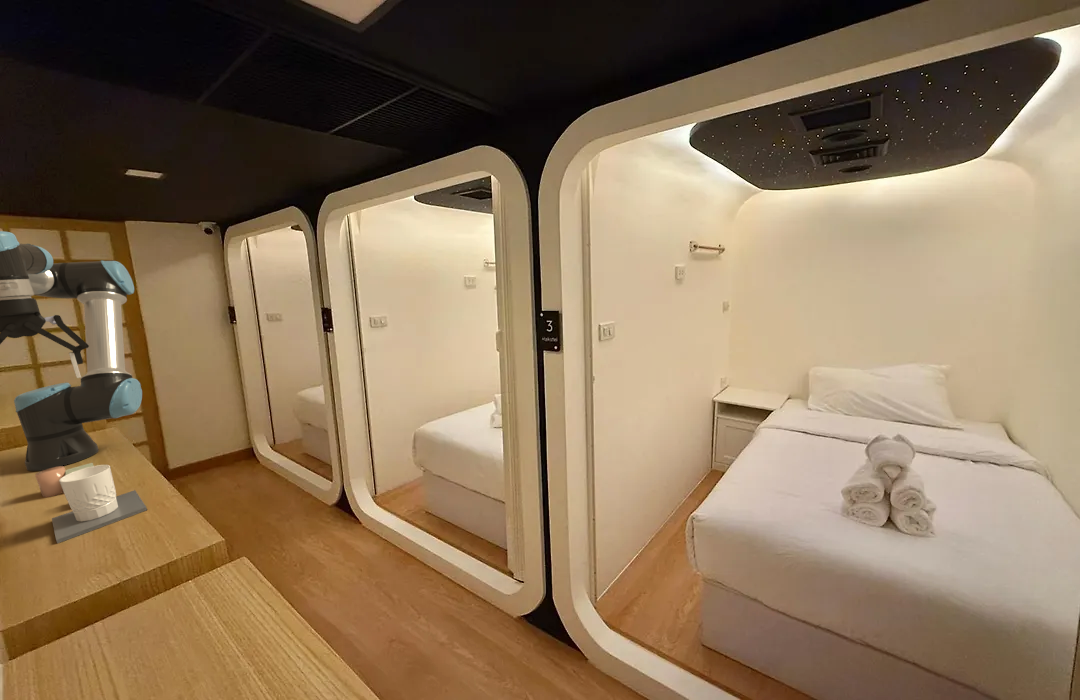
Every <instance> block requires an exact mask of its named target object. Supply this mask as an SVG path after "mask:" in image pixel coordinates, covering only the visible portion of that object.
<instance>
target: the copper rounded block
mask: <svg viewBox="0 0 1080 700" xmlns="http://www.w3.org/2000/svg"><path fill="white" fill-rule="evenodd" d="M65 475H66V468H65V465H64V466H58V467H53V468H49V469H46V470H39V471H37V473H35V478H36V482H37V484H38V487H39V490H40V493H41V495H42V498H49V497H50V498H51V497H54V496H58V495H61V494H64V491H63V489H62V487H61V484H60V482H59V480H60V479H61V478H62V477H64V476H65Z"/></svg>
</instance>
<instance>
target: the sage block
mask: <svg viewBox="0 0 1080 700" xmlns="http://www.w3.org/2000/svg"><path fill="white" fill-rule="evenodd" d="M92 466H94V463H93V462H90V463H86V464H81V465H79V466H75V467H72V468H71V467H70V468H67V469H65V471H66V475H67V474H70V473H72V472H75V471H78V470H81V469H84V468H88V467H92Z"/></svg>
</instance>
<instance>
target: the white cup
mask: <svg viewBox="0 0 1080 700" xmlns="http://www.w3.org/2000/svg"><path fill="white" fill-rule="evenodd" d="M59 482H60V484H61V487H62V489H63V491H64V493H63V494H64V497H65V499H66V501H67V502H68V506H69V507H70V509H71V510H72V511H73V513H74V515H75V518H76V520H77V521H81V522H83V521H90V520H93V519H97V518H100V517H102V516H105V515H107V514H109V513H111V512H113V511H114V510H116V509H117V508H118V504H117V500H116V496H117V492H116V486H115V482H114V477H113V473H112V469H111V465H109V464H99V465H93V466H92V467H88V468H84V469H81V470H78V471H75V472H72V473H70V474H67V475H65V476H64V477H62V478H61V479H60V480H59Z"/></svg>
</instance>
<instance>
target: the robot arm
mask: <svg viewBox="0 0 1080 700" xmlns="http://www.w3.org/2000/svg"><path fill="white" fill-rule="evenodd" d="M134 293H135V286H134V281H133V279H132V277H131V275H130V273H129V271H128V269H127V268H126V267H125V265H124V264H122V263H121V262H120V261H116V260H102V259H101V260H99V261H98V260H97V261H77V262H58V263H57V262H56V263H54V258H53V256H52V254H51V253H50V252H49V251H48V250H47V249H46V248H44V247H41V246H38V245H34V244H31V243H20V242H19V241H18V239H17V236H16V235H15V234H14V233H13V232H9V231H4V230H3V231H2V230H1V231H0V345H1V344H2V343H4V342H5V340H6V338H12V339H17V338H18V339H19V338H22V337H33V336H34V337H35V336H36V335H38V334H40V335H41V336H43V337H45V338H47V339H48V340H50V341H52V342H55V343H56V344H58V345H61V346H62V347H64V348H66V349H68V350H70V352H68V355H69V358H70V361H71V365H72V368H73V372H74V375H75V378H77V379H79V378H80V385H78V386H77V385H76V386H72V385H71V384H70V383H69V382H61V383H56V384H51V385H47V386H44V387H43V386H42V387H39V388H36V389H33V390H29V391H26V392H23V393H21V394H18V395H17V396H16V397H14V400H13V403H14V407H15V413H16V414H17V417H18V419H19V420H18V421H19V422H20V426H21V428H22V431H23V433H24V436H25V439H26V441H27V447H26V453H25V460H24V465H25V469H26V470H27V471H29V472H36V471H37V472H40V471H43V470H46V469H49V468H53V467H58V466H63V465H64V466H67V464H68V465H70V464H71V465H72V464H74V463H76V462H77V463H78V462H81V461H82V460H85V459H87V458H90V457H92V456H94V455H96V454H97V453H98V452H99V451H100V449H99V447H98V445H97V443H96V442H95V440H94V439H93V438H92V437H91V436H90V434H88V433H87V432H86V431H85V429H84V426H83V424H85V423H92V422H98V421H102V420H110V419H118V418H121V417H124V416H130V415H133V414H135V413H136V412H137V411H138V410H139V408H140V406H141V404H142V399H143V390H142V387H141V386H142V384H141V382H140V381H139V380H138V379H137V378H134V377H133V375H132V374H131V373H130V372H128V371H127V370H126V358H125V345H124V332H123V330H124V329H123V328H124V327H123V314H122V313H123V312H122V305H124V304H125V303H127V301H128V299H127V297H128V296H129V295H132V294H134ZM127 295H128V296H127ZM32 296H38V297H46V298H54V299H67V300H68V299H77V301H78V302H79V303H81V304H82V305H83V308H84V309H83V310H84V327H85V329H84V331H85V340H83V339H82V338H81V336H79V335H78V334H77V333H76V332H74V331H73V330H72V329H71V328H70V327H69V326H67V325H66V324H65V323H64V321H63V318H62V316H61V315H59V314H54V315H52V316H46V317H44V316H42V314H41V312H40V308H39V305H38V302H37V299H36V298H35V297H33V298H32ZM46 322H49V323H50V324H52V325H56V326H57V327H58V328H59V329H61V330H62V331H63V332H64V333H65V334H67V335H68V337H70V338H71V339H72V340H73V341H74V342H76V343H77V344H78V345H73V344H72V343H70V342H68V341H66V340H64V339H62V338H60V337H59V336H56V335H55V334H54V333H52V332H49V331H47V330H45V329H44V328H43V327H44V325H45V324H46ZM85 349H86V370H87V371H86V373H85V374H84V375H83V376H82V375H81V372H80V368H79V366H78V365H82V364H84V359H83V357H82V354H81V353H82V352H81V351H83V350H85Z"/></svg>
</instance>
